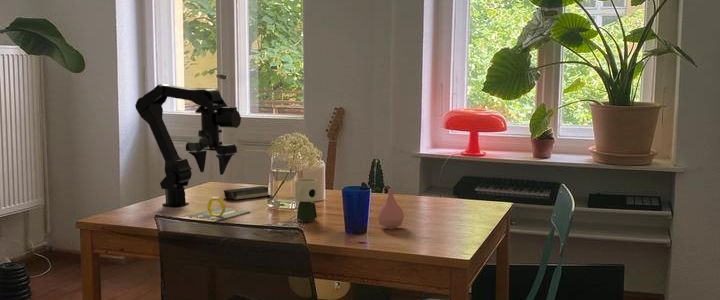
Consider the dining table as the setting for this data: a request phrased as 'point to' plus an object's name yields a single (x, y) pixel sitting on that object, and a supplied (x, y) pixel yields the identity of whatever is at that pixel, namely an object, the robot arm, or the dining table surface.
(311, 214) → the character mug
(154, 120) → the robot arm
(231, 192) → the black sponge
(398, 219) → the pink teardrop shape
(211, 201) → the watch
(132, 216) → the dining table surface
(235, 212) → the subfloor panel
